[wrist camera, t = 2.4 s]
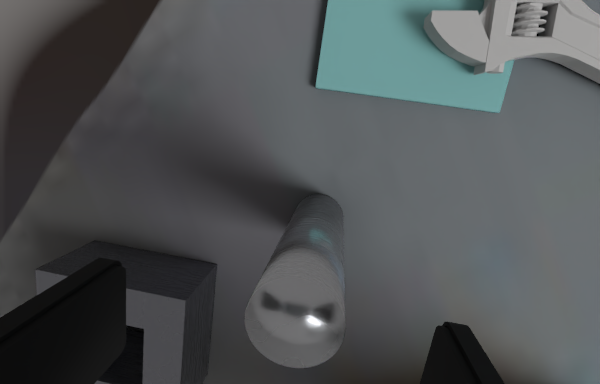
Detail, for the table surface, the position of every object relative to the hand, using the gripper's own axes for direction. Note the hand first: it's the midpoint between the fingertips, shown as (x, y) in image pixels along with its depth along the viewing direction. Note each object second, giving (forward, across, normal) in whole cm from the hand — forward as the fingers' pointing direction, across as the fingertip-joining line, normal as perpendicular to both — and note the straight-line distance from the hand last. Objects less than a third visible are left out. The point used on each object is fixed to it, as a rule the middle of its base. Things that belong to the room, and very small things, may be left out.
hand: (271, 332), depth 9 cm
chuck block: (+13, +11, +11) cm, 20 cm away
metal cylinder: (+13, -1, +1) cm, 13 cm away
